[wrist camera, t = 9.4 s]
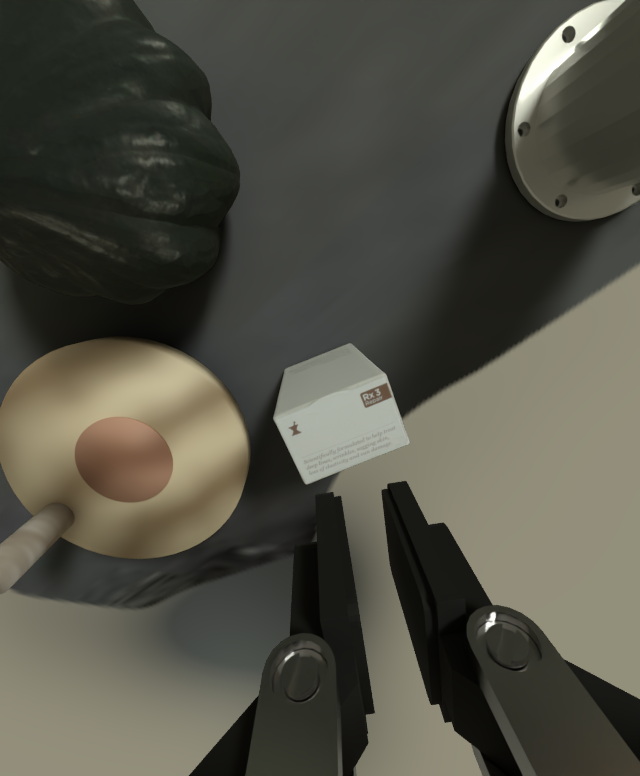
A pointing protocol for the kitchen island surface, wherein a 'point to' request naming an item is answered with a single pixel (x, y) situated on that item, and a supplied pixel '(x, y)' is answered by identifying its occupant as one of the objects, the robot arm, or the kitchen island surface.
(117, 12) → the squash
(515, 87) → the robot arm
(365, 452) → the skincare box
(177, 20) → the kitchen island surface
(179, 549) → the turntable
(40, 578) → the kitchen island surface
